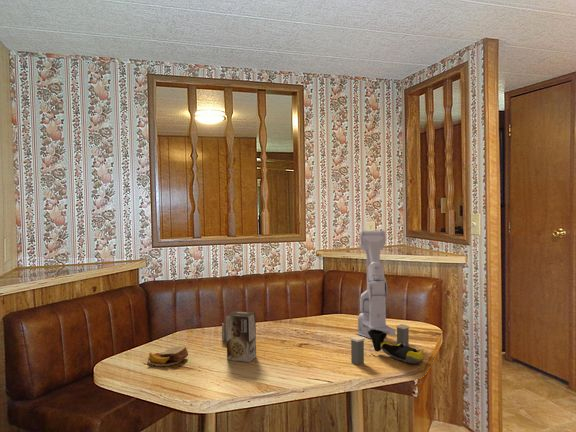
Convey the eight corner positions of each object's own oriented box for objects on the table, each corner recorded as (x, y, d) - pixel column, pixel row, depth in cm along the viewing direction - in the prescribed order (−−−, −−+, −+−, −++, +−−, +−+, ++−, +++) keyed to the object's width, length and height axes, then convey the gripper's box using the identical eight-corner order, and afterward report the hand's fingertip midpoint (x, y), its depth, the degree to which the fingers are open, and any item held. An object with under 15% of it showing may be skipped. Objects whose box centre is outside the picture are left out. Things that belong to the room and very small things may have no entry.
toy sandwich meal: (162, 353, 162) (162, 341, 162) (193, 358, 157) (193, 345, 157) (140, 365, 150) (139, 352, 150) (172, 370, 145) (172, 356, 145)
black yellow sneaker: (411, 370, 142) (430, 363, 148) (411, 353, 142) (430, 347, 148) (377, 357, 155) (396, 351, 160) (377, 342, 155) (396, 336, 160)
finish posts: (350, 362, 149) (350, 338, 149) (402, 346, 166) (402, 324, 165) (357, 365, 147) (357, 340, 146) (409, 348, 163) (409, 326, 163)
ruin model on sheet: (248, 337, 181) (247, 314, 180) (250, 339, 178) (250, 316, 178) (221, 341, 176) (221, 317, 176) (224, 343, 173) (223, 319, 173)
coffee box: (256, 356, 157) (256, 312, 156) (249, 362, 151) (249, 316, 150) (234, 353, 160) (233, 310, 159) (226, 359, 154) (225, 314, 153)
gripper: (355, 311, 160) (355, 347, 161) (385, 319, 149) (386, 358, 149) (368, 308, 165) (368, 343, 165) (399, 315, 153) (399, 354, 153)
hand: (377, 350), depth 157 cm, fingers closed
